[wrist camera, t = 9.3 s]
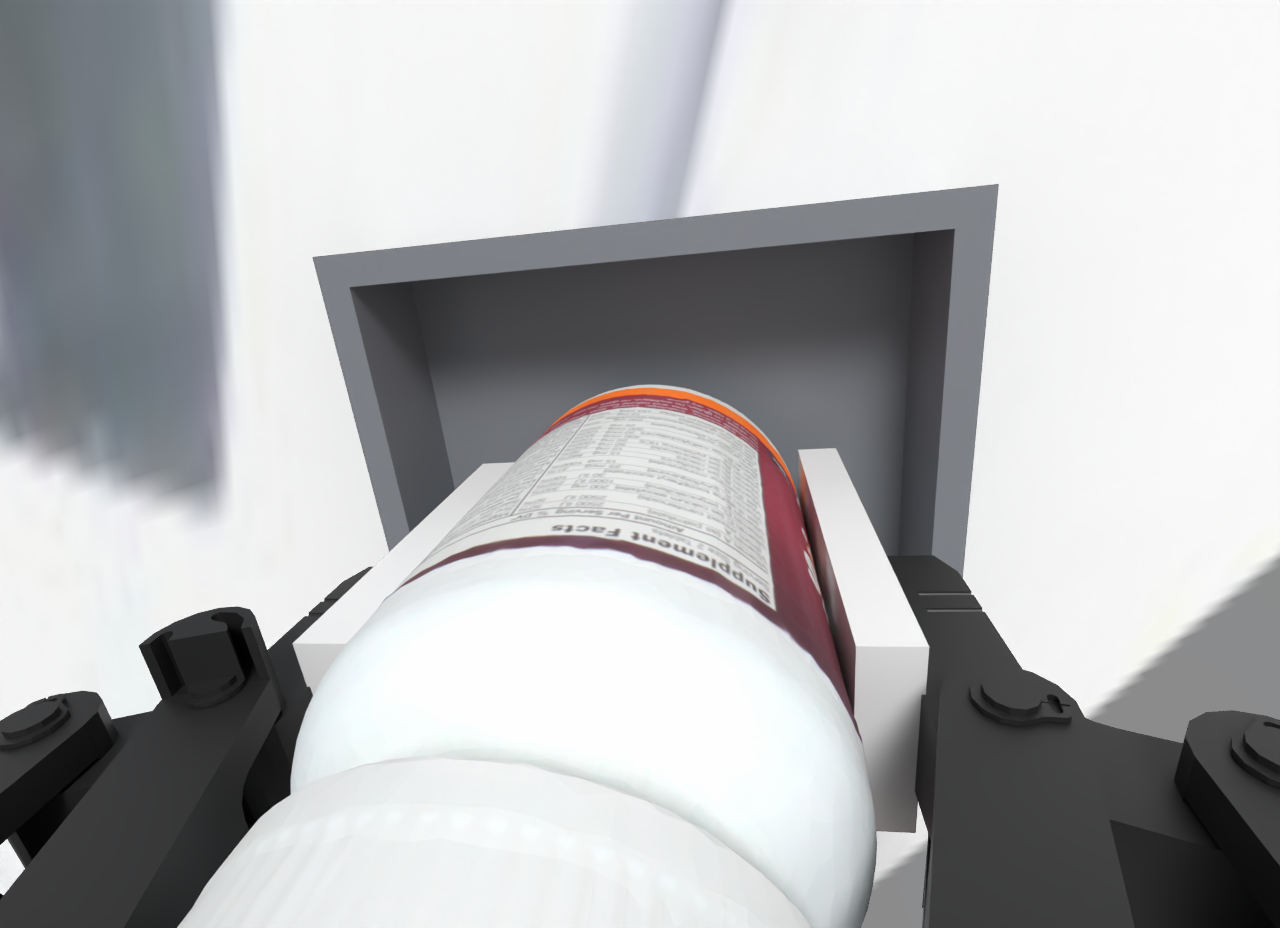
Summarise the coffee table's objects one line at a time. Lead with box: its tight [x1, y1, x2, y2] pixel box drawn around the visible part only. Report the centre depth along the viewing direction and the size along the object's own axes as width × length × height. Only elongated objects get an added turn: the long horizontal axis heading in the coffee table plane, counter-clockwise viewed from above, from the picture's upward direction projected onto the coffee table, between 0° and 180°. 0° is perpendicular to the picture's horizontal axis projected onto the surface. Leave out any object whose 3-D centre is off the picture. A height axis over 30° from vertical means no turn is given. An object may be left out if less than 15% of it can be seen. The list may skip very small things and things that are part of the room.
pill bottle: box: [177, 385, 877, 928], centre depth 9 cm, size 6×6×11 cm
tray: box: [313, 184, 999, 578], centre depth 14 cm, size 12×12×3 cm
